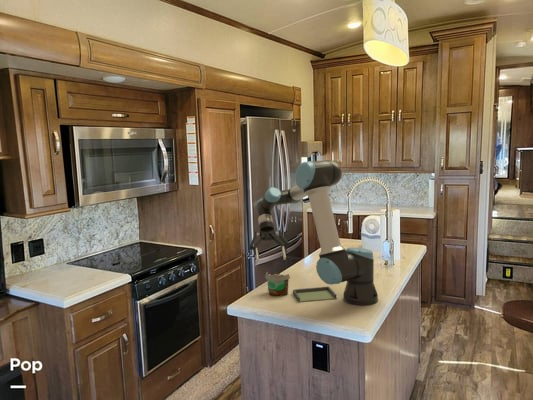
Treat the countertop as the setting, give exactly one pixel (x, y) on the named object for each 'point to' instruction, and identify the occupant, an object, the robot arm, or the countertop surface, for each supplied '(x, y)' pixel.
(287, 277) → the food container
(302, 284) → the countertop surface
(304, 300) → the green tray
